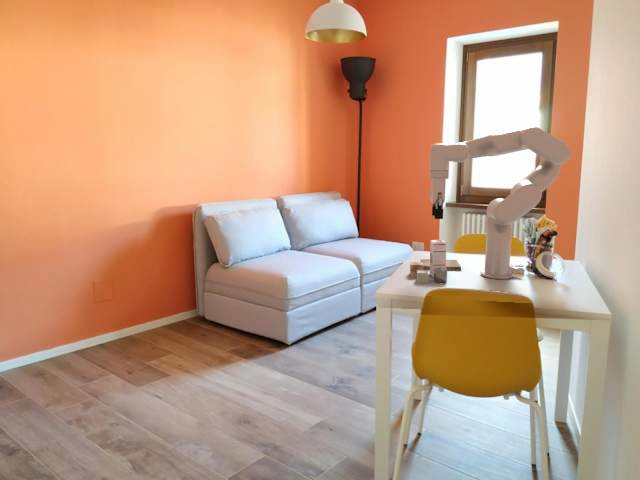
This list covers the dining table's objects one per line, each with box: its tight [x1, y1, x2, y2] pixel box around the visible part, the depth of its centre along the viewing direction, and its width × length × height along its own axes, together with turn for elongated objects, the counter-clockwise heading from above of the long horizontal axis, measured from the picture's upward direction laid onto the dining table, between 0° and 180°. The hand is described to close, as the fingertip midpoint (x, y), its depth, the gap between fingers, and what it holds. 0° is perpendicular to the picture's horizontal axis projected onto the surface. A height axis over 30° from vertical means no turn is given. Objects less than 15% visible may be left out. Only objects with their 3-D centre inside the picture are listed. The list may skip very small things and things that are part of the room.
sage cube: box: [416, 270, 429, 284], centre depth 204 cm, size 4×4×4 cm
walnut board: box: [420, 258, 462, 271], centre depth 230 cm, size 16×14×2 cm
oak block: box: [409, 261, 424, 278], centre depth 214 cm, size 5×5×5 cm
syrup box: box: [429, 239, 447, 278], centre depth 212 cm, size 6×6×14 cm
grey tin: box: [433, 268, 448, 284], centre depth 203 cm, size 5×5×5 cm
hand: (437, 217), depth 212 cm, fingers open, 9 cm apart
